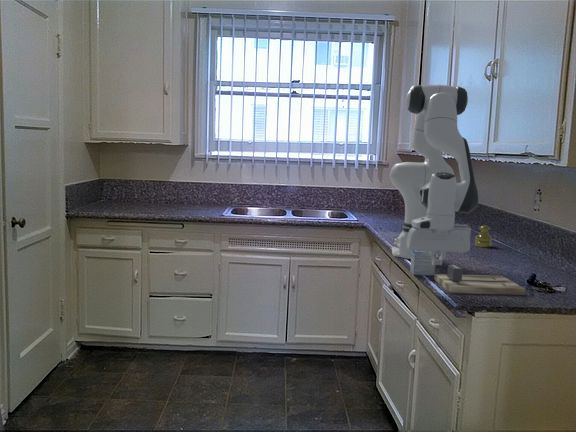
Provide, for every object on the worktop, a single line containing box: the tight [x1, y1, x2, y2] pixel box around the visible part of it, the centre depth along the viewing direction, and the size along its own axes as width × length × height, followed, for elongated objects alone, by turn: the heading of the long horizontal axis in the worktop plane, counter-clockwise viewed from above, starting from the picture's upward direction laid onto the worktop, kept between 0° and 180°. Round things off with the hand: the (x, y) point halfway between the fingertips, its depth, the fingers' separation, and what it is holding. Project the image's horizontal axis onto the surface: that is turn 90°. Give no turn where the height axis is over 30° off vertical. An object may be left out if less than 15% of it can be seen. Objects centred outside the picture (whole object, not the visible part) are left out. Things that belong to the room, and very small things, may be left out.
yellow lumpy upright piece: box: [474, 224, 493, 248], centre depth 243 cm, size 7×7×10 cm
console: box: [433, 273, 526, 296], centre depth 170 cm, size 16×24×2 cm, turn 92°
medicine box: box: [409, 251, 438, 277], centre depth 184 cm, size 8×4×9 cm, turn 92°
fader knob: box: [446, 264, 463, 281], centre depth 169 cm, size 5×3×4 cm, turn 2°
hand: (436, 264), depth 168 cm, fingers closed
